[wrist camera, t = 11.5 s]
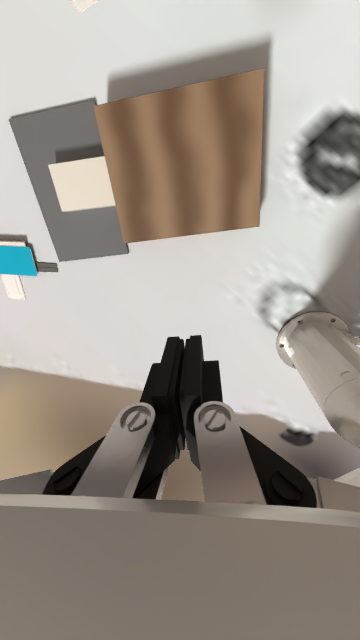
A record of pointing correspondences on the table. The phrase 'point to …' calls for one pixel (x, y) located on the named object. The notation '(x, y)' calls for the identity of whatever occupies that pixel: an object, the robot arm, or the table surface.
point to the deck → (186, 157)
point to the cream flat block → (82, 184)
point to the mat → (38, 152)
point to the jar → (83, 4)
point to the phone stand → (19, 266)
